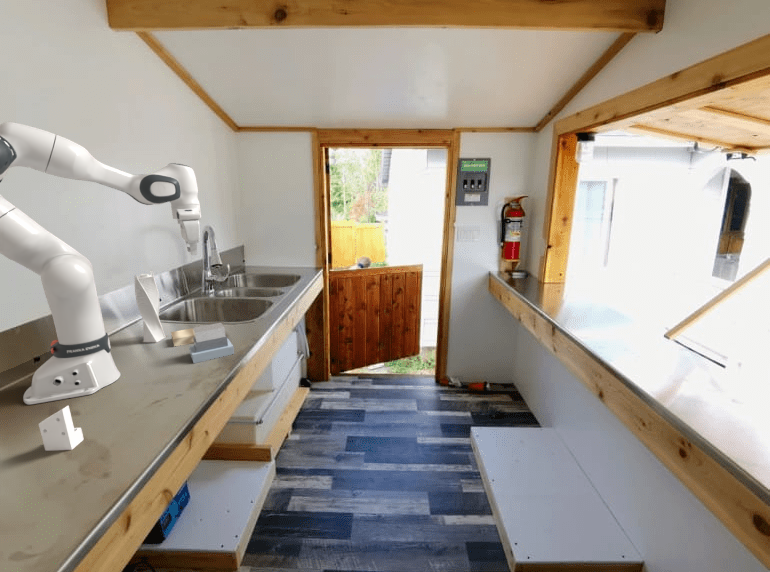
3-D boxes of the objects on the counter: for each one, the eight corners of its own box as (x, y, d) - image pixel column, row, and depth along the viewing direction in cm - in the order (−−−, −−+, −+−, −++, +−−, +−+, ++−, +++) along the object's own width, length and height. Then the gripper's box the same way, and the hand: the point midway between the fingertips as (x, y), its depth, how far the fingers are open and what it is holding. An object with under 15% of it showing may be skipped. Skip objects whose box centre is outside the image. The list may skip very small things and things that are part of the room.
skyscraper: (172, 336, 153) (161, 268, 147) (158, 344, 146) (146, 272, 139) (152, 336, 154) (140, 267, 147) (138, 344, 146) (125, 272, 140)
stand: (193, 363, 128) (192, 355, 128) (190, 354, 136) (189, 346, 135) (234, 354, 135) (233, 346, 134) (228, 346, 142) (228, 338, 142)
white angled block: (89, 439, 85) (62, 409, 83) (54, 460, 86) (26, 431, 84) (100, 429, 89) (74, 400, 87) (67, 449, 90) (40, 421, 88)
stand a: (174, 346, 142) (173, 339, 142) (172, 339, 150) (171, 332, 149) (212, 339, 149) (211, 332, 149) (208, 332, 157) (207, 325, 156)
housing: (196, 352, 130) (193, 333, 128) (194, 346, 134) (191, 327, 133) (227, 345, 135) (225, 327, 133) (224, 340, 140) (222, 322, 138)
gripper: (173, 212, 139) (179, 250, 142) (179, 214, 122) (185, 258, 125) (193, 211, 142) (197, 249, 145) (201, 214, 125) (206, 256, 129)
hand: (192, 253), depth 135 cm, fingers open, 8 cm apart
